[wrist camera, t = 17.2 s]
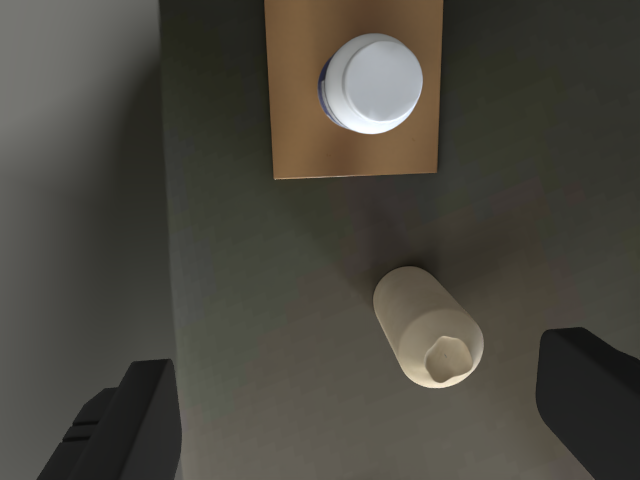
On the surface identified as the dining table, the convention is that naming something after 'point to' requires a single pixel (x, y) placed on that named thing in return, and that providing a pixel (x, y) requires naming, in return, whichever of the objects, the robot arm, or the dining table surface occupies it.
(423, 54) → the cork mat
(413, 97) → the pill bottle
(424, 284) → the candle
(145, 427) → the robot arm
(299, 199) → the dining table surface
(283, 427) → the dining table surface
